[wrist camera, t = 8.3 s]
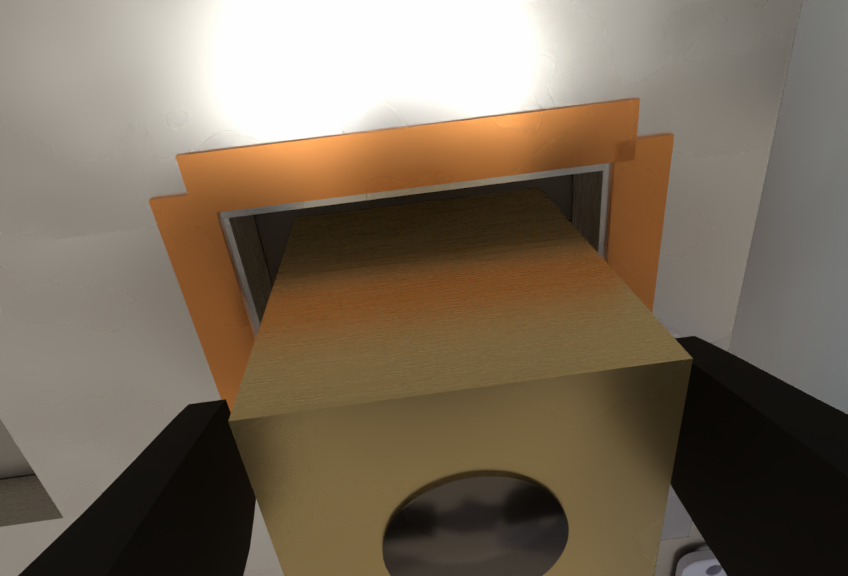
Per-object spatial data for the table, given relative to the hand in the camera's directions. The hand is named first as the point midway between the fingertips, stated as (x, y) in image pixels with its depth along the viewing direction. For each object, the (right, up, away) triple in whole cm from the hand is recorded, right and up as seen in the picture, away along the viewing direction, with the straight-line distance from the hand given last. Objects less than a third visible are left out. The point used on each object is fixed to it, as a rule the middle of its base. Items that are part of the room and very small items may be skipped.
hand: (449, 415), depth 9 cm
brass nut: (0, +2, +3) cm, 4 cm away
